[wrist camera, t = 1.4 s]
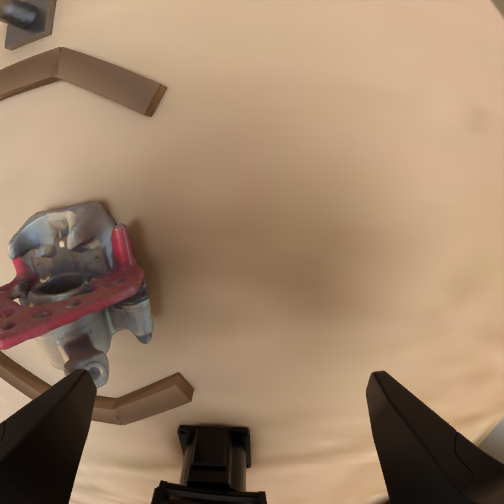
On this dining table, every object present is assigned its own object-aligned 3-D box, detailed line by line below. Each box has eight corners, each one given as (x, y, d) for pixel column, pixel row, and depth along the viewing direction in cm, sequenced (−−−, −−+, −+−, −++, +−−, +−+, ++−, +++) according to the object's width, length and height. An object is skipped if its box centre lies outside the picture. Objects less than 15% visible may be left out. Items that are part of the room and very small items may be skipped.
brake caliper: (131, 151, 16) (86, 380, 10) (180, 259, 25) (176, 415, 19) (-8, 189, 17) (-66, 356, 10) (63, 271, 26) (42, 403, 19)
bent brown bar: (199, 420, 26) (197, 432, 24) (-11, 383, 26) (-17, 391, 24) (167, 30, 16) (161, 23, 15) (-72, 115, 16) (-82, 116, 15)
